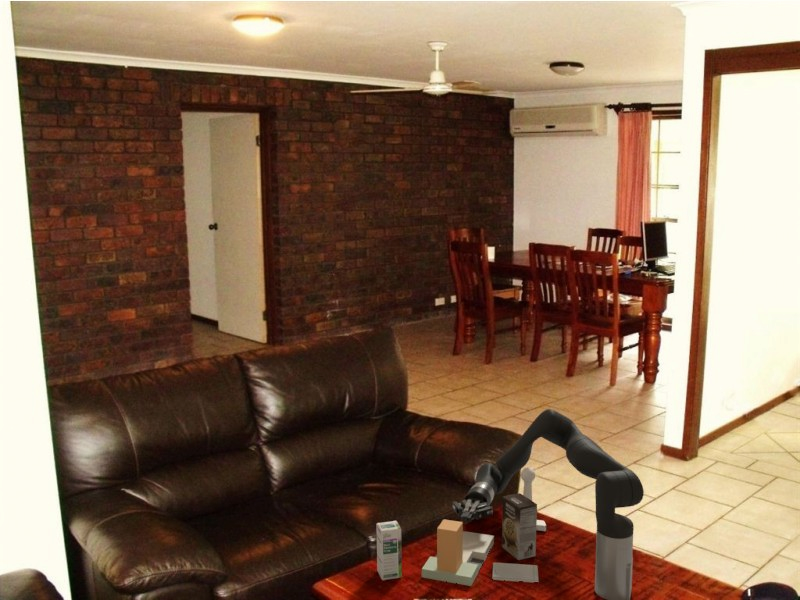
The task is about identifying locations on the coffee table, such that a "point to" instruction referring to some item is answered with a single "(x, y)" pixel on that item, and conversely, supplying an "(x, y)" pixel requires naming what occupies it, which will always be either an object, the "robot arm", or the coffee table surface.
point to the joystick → (528, 477)
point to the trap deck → (473, 559)
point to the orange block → (449, 545)
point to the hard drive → (515, 572)
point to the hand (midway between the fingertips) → (464, 520)
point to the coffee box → (519, 526)
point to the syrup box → (389, 550)
